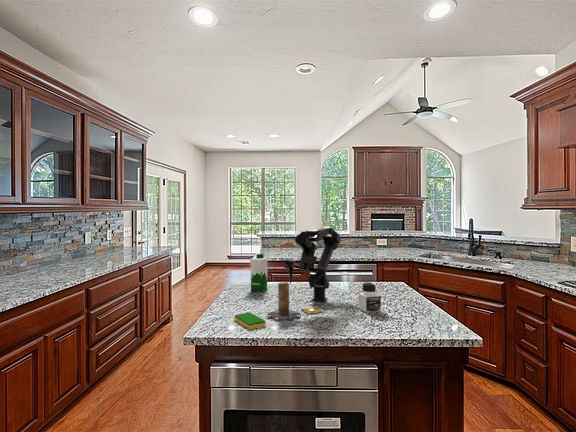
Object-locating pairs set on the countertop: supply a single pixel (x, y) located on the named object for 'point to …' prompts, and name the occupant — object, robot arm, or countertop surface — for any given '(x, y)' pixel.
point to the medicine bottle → (369, 298)
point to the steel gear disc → (279, 317)
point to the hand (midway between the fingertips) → (300, 286)
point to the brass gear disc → (312, 310)
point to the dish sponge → (250, 320)
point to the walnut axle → (283, 298)
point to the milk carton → (258, 273)
